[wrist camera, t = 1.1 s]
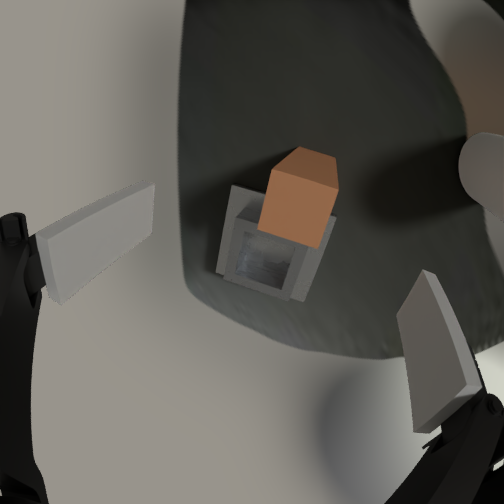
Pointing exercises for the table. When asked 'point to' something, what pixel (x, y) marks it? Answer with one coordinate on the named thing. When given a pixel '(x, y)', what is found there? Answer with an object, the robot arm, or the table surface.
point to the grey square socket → (265, 251)
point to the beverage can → (484, 171)
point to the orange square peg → (300, 197)
